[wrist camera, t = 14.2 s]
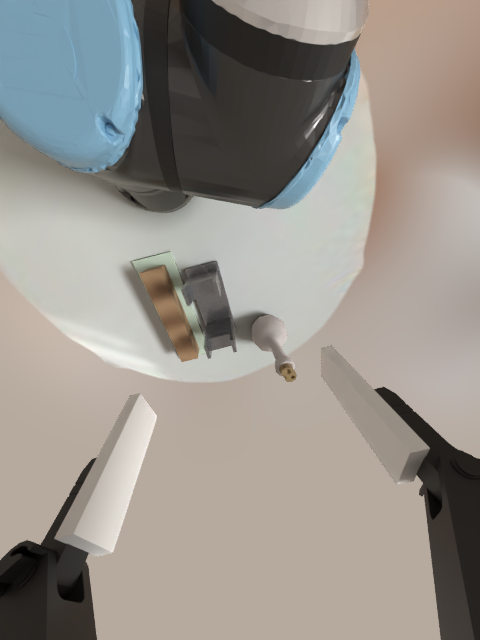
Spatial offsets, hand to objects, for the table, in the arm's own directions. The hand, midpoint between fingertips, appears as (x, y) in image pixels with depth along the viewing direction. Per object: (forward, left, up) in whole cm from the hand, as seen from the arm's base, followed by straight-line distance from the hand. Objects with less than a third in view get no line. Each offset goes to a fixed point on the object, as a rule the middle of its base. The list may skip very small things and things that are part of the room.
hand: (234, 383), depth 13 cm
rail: (+5, -13, -30) cm, 33 cm away
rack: (+5, -4, -31) cm, 31 cm away
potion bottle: (+15, +7, -31) cm, 35 cm away
